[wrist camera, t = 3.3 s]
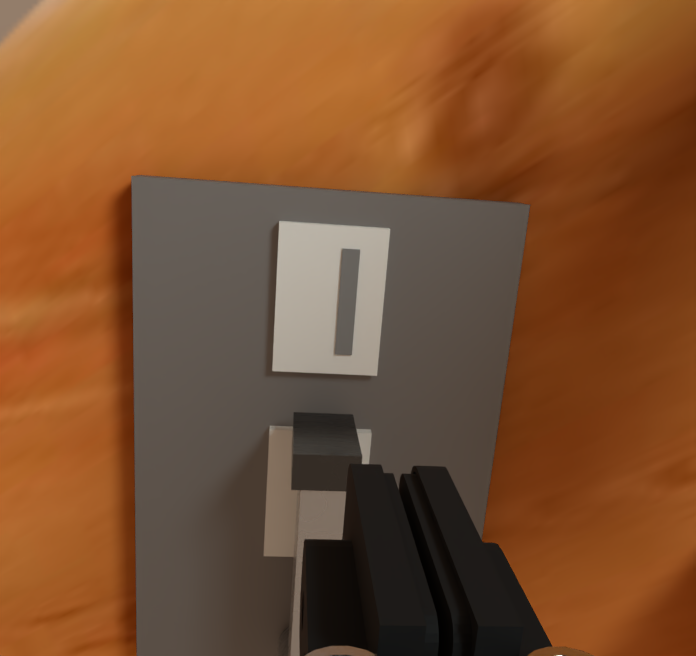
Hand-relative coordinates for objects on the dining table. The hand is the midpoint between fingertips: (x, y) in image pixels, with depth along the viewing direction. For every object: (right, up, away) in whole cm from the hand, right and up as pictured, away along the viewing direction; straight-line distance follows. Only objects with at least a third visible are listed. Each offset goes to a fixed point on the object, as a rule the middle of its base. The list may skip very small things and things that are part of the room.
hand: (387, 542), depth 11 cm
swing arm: (-2, -7, +22) cm, 23 cm away
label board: (-2, -2, +22) cm, 23 cm away
